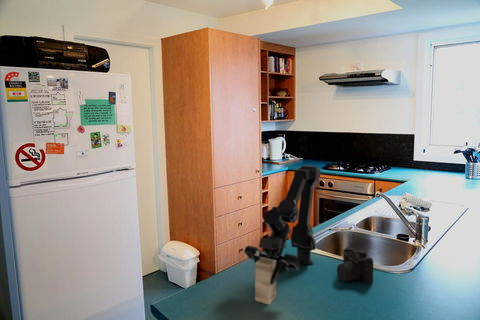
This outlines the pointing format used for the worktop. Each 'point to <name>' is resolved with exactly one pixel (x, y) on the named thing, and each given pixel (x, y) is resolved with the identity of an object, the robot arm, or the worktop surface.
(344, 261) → the camera
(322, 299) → the worktop surface
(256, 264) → the maple block
